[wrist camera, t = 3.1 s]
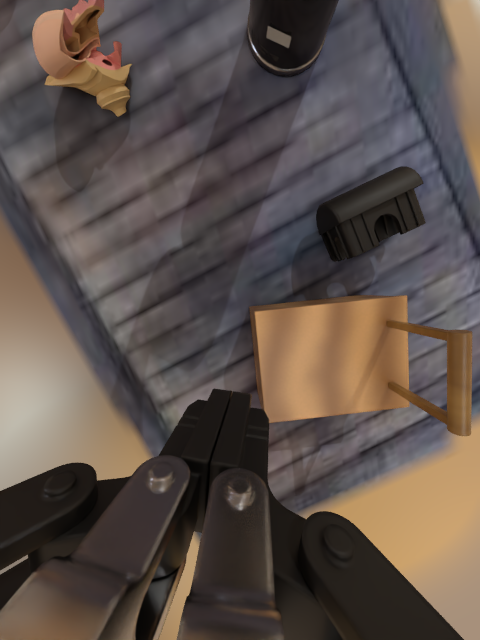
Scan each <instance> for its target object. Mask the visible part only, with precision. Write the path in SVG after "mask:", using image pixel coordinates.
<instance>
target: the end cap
mask: <svg viewBox="0 0 480 640" xmlns="http://www.w3.org/2000/svg"><path fill="white" fill-rule="evenodd" d="M421 184H423V181H422V179H421V177H420V176H419V174H418V173H417V172H416V171H415V170H413V169H412V168H409V167H398V168H396V169H394V170H391V171H389V172H387V173H385V174H383V175H381V176H379V177H377V178H375V179H373V180H371V181H369V182H366V183H364V184H362V185H360V186H358V187H356V188H354V189H352V190H350V191H348V192H346V193H344V194H342V195H339V196H337V197H335V198H333V199H331V200H329V201H327V202H325V203H323V204H321V205H320V206H319V208H318V210H317V214H316V221H317V227H318V231H319V234H320V235H322V238H323V241H324V243H325V245H326V248H327V250H328V253H329V255H330V258H331V259H332V261H341V260H344V259H345V258H346V257H347V259H349V258H352V257H355V256H358V255H360V254H362V253H364V252H366V251H368V250H370V249H372V248H374V247H377V246H379V242H380V241H382V240H384V239H386V238H388V237H390V236H392V235H395V234H397V233H399V232H400V234H404V233H406V232H408V231H410V230H412V229H415V228H417V227H419V226H421V225H423V224H425V223H426V222H425V219H424V217H423V214H422V211H421V208H420V205H419V202H418V200H417V197H416V194H415V191H414V188H416V187H418V186H420V185H421Z"/></svg>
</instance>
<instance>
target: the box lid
mask: <svg viewBox="0 0 480 640" xmlns="http://www.w3.org/2000/svg"><path fill="white" fill-rule="evenodd" d="M254 315H255V326H256V336H257V346H258V357H259V367H260V377H261V388H262V398H263V408H264V411H265V413H266V414H267V416H268V418H269V423H274V422H282V421H291V420H300V419H308V418H317V417H325V416H334V415H343V414H351V413H360V412H368V411H377V410H386V409H394V408H403V407H409V401H410V402H411V403H413V404H414V405H416V406H418V407H419V408H421V409H422V410H424V411H426V412H427V413H429V414H430V415H432V416H434V417H435V418H437V419H438V420H440V421H442V422H443V423H445V424H446V425H447V429H448V431H450V432H451V433H453V434H456V435H459V436H469V435H470V434H471V392H472V332H471V331H468V330H444V329H439V328H433V327H428V326H422V325H417V324H411V323H408V320H407V296H404V295H401V296H392V297H383V298H373V299H364V300H354V301H345V302H336V303H326V304H317V305H307V306H298V307H289V308H279V309H270V310H260V311H254ZM408 332H412V333H416V334H420V335H424V336H429V337H433V338H437V339H441V340H446V341H447V412H446V411H445V410H443V409H441V408H439V407H437V406H436V405H434V404H432V403H430V402H429V401H427V400H425V399H423V398H421V397H420V396H418V395H416V394H414V393H413V392H411V391H409V370H408Z"/></svg>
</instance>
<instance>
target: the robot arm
mask: <svg viewBox="0 0 480 640" xmlns="http://www.w3.org/2000/svg"><path fill="white" fill-rule="evenodd" d="M338 1H339V0H250V12H249V17H248V29H247V35H248V43H249V46H250V49H251V52H252V54H253V56H254V58H255V59H256V60H257V62H258V63H259V64H260V65H261V66H262V67H263V68H264V69H266V70H267V71H269V72H271V73H273V74H275V75H279V76H293V75H297V74H300V73H302V72H304V71H305V70H307V69H308V68H309V67H310V66H311V65H312V64H313V63H314V62H315V61H316V59H317V57H318V56H319V54H320V51H321V49H322V46H323V44H324V41H325V37H326V33H327V30H328V28H329V25H330V22H331V19H332V17H333V14H334V12H335V9H336V6H337V4H338ZM251 397H252V394H247V393H241V392H234V391H233V393H232V391H227V390H220V389H213V390H212V392H211V395H210V397H209V399H208V401H204V400H197V401H195V402H194V403H192V404H191V405H189V406H188V407H187V409H186V411H185V412H184V414H183V417H181V419H180V421H179V423H178V425H177V426H176V428H175V429H174V431H173V433H172V434H171V436H170V438H169V439H168V441H167V443H166V444H165V446H164V448H163V449H162V451H161V453H160V454H159V456H157V457H154V458H151V459H149V460H147V461H146V462H144V463H143V464H142V465H140V466H139V467H138V469H137V470H136V471H135V472H134V473H133V475H132V476H130V477H125V478H117V479H108V480H100V481H97V477H96V472H95V470H94V468H93V467H92V466H90V465H88V464H84V463H70V464H65V465H62V466H59V467H56V468H54V469H52V470H49V471H47V472H44V473H42V474H40V475H37V476H35V477H32V478H30V479H28V480H25V481H23V482H21V483H18V484H16V485H14V486H11V487H9V488H7V489H4V490H2V491H0V570H2V569H3V568H5V567H7V566H9V565H10V564H12V563H14V562H15V561H17V560H19V559H21V558H22V557H24V556H26V555H27V554H28V559H26V560H24V561H23V562H21V563H19V564H18V565H16V566H14V567H13V568H11V569H9V570H7V571H6V572H4V573H2V574H1V575H0V640H158V639H159V637H160V634H161V631H162V628H163V625H164V623H165V620H166V617H167V615H168V611H169V609H170V606H171V603H172V601H173V598H174V595H175V592H176V589H177V587H178V584H179V581H180V578H181V576H182V573H183V570H184V567H185V563H186V555H187V552H188V549H189V546H190V542H191V539H192V536H193V532H194V531H196V532H201V533H202V535H201V540H200V546H199V551H198V556H197V561H196V567H195V572H194V577H193V582H192V586H191V590H190V594H189V596H187V598H186V601H185V605H184V609H183V613H182V617H181V621H180V626H179V632H178V636H177V640H464V639H463V638H462V637H461V636H460V635H459V634H458V633H457V632H456V631H455V630H454V629H453V628H452V627H451V626H450V624H449V623H448V622H446V620H445V619H444V618H443V617H442V616H441V615H440V614H439V613H438V612H437V611H436V610H435V609H434V608H433V607H432V605H431V604H430V603H429V602H427V600H426V599H425V598H424V597H423V596H422V595H421V594H420V593H419V592H418V591H417V590H416V589H415V588H414V587H413V585H412V584H411V583H410V582H409V581H408V580H407V579H406V578H405V577H404V576H403V575H402V574H401V573H400V572H399V571H398V570H397V569H396V568H395V567H394V566H393V565H392V563H391V562H390V561H389V560H387V558H386V557H385V556H384V555H383V554H382V553H381V552H380V551H379V550H378V549H377V548H376V547H375V546H374V545H373V543H372V542H371V541H370V540H369V539H368V538H367V537H366V536H365V535H364V534H363V533H362V532H361V531H360V530H359V529H358V528H357V527H356V526H355V525H354V524H353V523H351V522H350V521H349V520H347V519H346V518H344V517H342V516H340V515H338V514H335V513H332V512H326V511H323V512H316V513H314V514H312V515H311V516H309V517H308V518H307V520H306V519H305V518H303V517H301V516H299V515H297V514H295V513H293V512H292V511H290V510H288V509H287V508H285V507H284V506H283V505H281V504H280V503H279V502H278V501H277V500H276V498H275V497H274V496H273V494H272V492H271V491H270V488H269V485H268V479H267V473H268V439H269V418H268V416H267V414H266V413H265V411H264V410H263V409H257V408H250V406H251Z"/></svg>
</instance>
